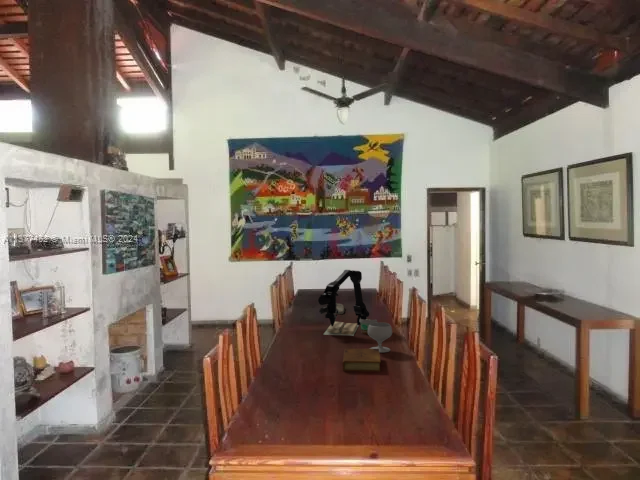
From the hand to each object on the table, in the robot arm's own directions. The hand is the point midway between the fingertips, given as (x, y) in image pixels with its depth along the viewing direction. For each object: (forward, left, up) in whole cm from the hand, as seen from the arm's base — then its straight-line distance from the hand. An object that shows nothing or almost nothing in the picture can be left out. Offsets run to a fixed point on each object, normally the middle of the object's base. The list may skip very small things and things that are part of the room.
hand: (332, 326), depth 318 cm
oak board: (-11, -6, -4) cm, 13 cm away
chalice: (-35, +40, -4) cm, 53 cm away
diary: (-27, +68, -5) cm, 73 cm away
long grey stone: (+8, -76, -4) cm, 77 cm away
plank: (-2, -6, -3) cm, 7 cm away
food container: (-24, +3, -4) cm, 24 cm away
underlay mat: (-6, -6, -4) cm, 9 cm away
